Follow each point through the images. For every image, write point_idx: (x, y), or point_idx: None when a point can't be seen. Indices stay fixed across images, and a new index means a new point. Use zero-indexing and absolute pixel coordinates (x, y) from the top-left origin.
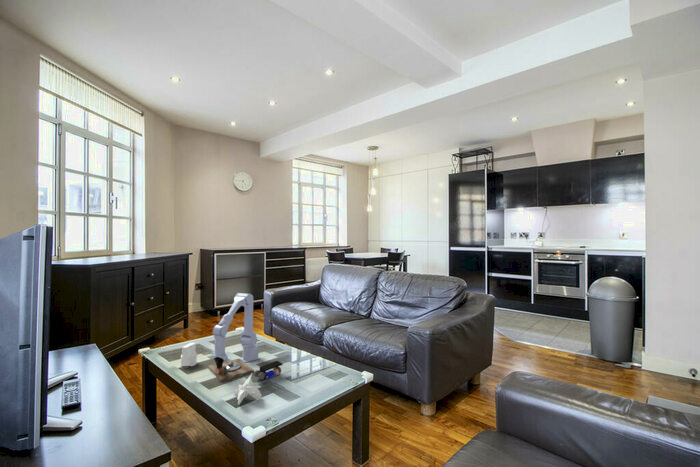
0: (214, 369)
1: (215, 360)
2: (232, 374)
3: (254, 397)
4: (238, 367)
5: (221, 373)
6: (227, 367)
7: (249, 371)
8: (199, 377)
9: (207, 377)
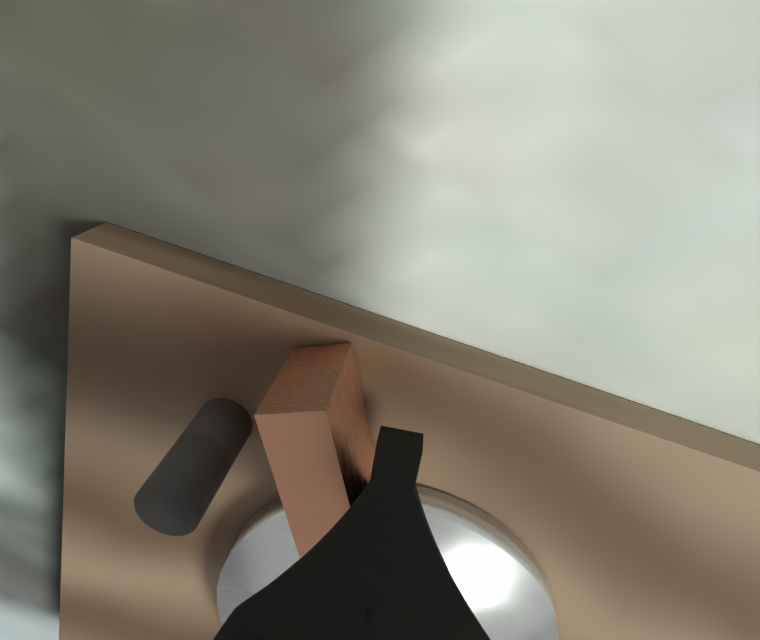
0: (605, 461)
1: (386, 622)
2: (111, 454)
3: None
4: None
5: None
6: None
7: (65, 607)
8: (689, 92)
9: (503, 200)
